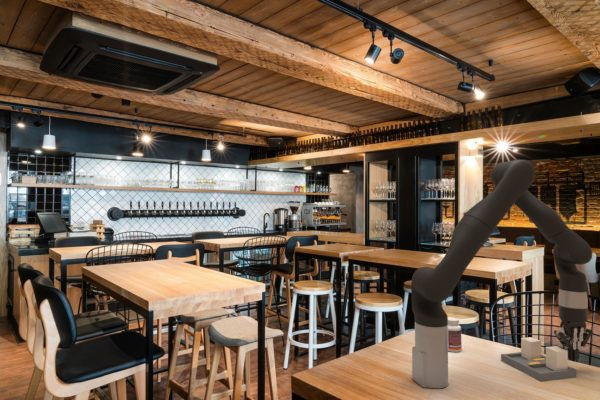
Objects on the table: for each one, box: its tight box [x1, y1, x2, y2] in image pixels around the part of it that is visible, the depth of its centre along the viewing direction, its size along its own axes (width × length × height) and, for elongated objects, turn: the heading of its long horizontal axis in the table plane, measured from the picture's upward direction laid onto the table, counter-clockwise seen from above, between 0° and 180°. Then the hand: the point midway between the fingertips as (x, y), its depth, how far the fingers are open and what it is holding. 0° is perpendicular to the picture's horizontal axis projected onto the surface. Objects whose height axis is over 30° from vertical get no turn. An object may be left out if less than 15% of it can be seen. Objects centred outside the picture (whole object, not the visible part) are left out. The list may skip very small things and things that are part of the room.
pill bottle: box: [448, 316, 463, 353], centre depth 142 cm, size 6×6×11 cm
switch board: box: [500, 351, 577, 382], centre depth 125 cm, size 13×16×2 cm
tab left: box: [520, 336, 542, 359], centre depth 130 cm, size 4×4×6 cm
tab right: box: [545, 345, 569, 370], centre depth 121 cm, size 4×4×6 cm
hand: (573, 360), depth 123 cm, fingers closed
